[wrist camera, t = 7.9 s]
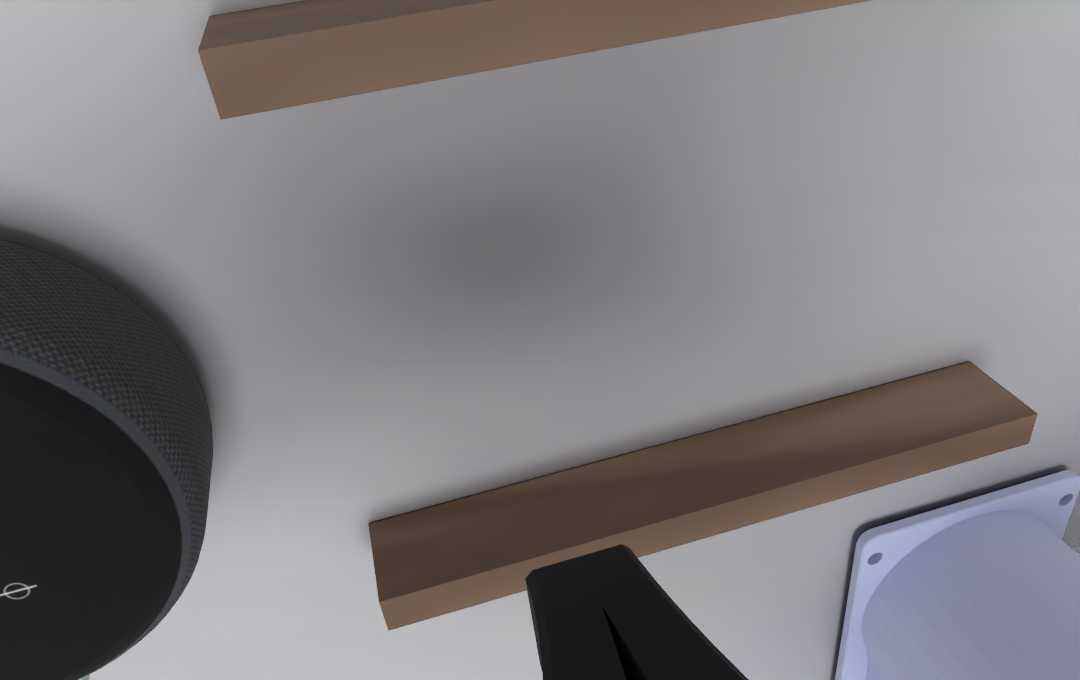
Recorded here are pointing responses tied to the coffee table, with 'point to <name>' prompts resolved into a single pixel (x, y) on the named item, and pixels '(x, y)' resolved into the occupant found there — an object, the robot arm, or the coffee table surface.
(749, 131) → the coffee table surface
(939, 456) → the chute
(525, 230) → the coffee table surface
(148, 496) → the smart speaker
